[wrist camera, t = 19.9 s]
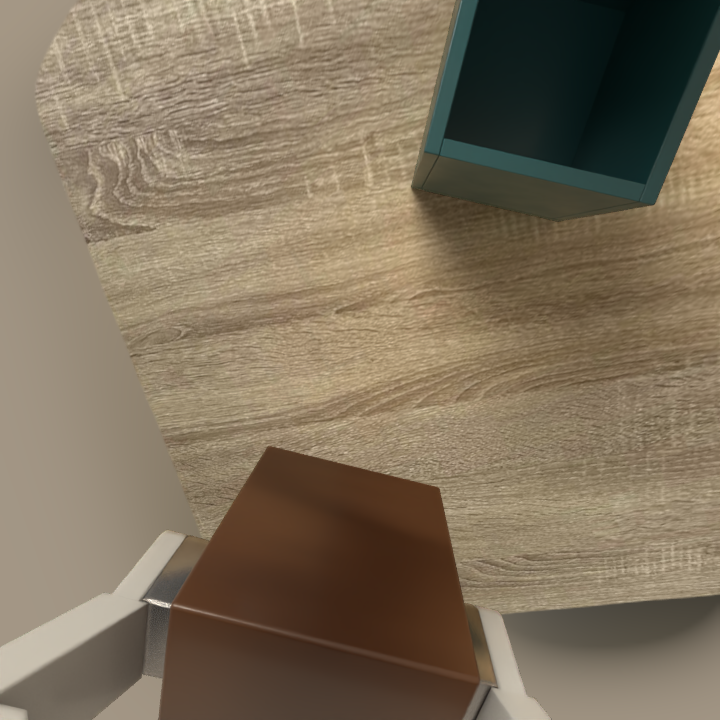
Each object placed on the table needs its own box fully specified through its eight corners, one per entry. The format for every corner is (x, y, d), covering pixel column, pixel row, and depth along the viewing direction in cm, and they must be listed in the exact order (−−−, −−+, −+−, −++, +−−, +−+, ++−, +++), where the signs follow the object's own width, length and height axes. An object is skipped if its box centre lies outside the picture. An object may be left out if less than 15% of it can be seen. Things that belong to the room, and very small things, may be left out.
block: (243, 579, 11) (147, 797, 6) (267, 444, 9) (167, 605, 5) (395, 616, 11) (399, 859, 6) (440, 486, 9) (483, 683, 5)
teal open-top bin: (558, 221, 29) (655, 205, 18) (410, 187, 29) (423, 152, 18) (634, 7, 25) (812, -168, 14) (463, -32, 25) (517, -233, 14)
